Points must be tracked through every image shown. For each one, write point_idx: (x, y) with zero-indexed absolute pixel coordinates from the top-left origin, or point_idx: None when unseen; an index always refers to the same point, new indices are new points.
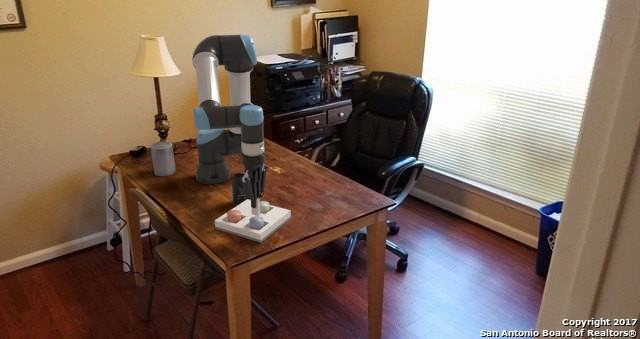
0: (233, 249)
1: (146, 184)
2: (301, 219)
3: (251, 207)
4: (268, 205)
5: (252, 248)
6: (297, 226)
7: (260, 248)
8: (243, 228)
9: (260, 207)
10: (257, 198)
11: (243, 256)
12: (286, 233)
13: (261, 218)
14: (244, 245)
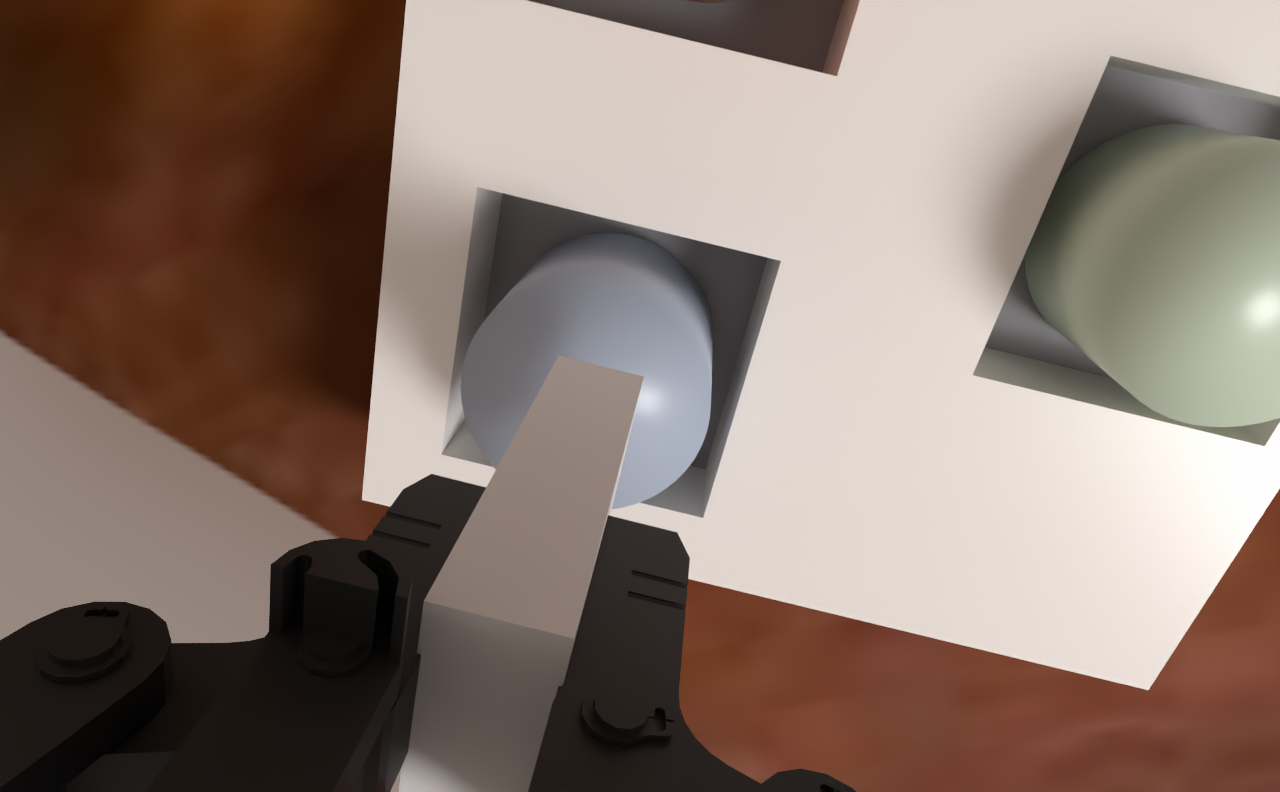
0: (131, 174)
1: None
2: (1075, 711)
3: (430, 477)
4: (1200, 423)
5: (263, 389)
6: (889, 703)
7: (304, 471)
8: (403, 208)
9: (1101, 298)
10: (477, 775)
11: (77, 353)
12: (702, 635)
13: (642, 466)
14: (275, 274)
